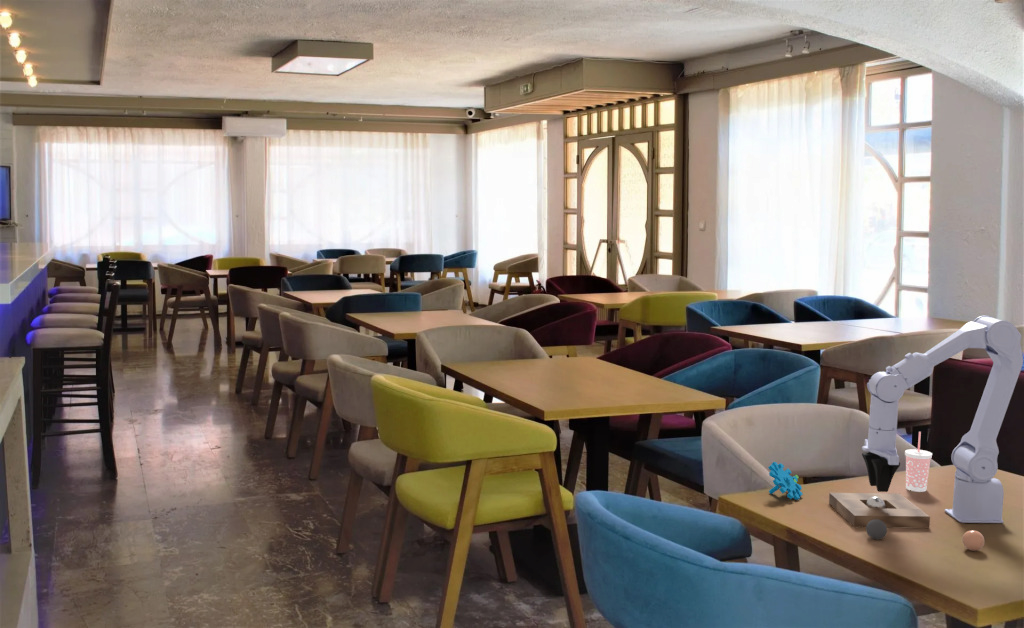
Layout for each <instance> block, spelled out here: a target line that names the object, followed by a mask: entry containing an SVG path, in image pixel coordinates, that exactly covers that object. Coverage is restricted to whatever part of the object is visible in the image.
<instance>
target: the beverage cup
mask: <svg viewBox="0 0 1024 628" xmlns="http://www.w3.org/2000/svg"><path fill="white" fill-rule="evenodd" d="M921 434H922V431H918V440H917V441H918V442H917V449H916V448H914V449H913V448H911V449H906V450H904V456H905V489H906V490H908V491H910V490H911V491H910V492H918V493H921V492H922V493H924V492H926V491H927V487H928V483H929V482H928V478H929V472H930V465H931V460H932V456H933V452H931V451H928V450H923V449H921V436H922V435H921Z"/></svg>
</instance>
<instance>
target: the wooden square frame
mask: <svg viewBox="0 0 1024 628" xmlns="http://www.w3.org/2000/svg"><path fill="white" fill-rule="evenodd" d="M874 496H876V497H880V498H881V499H882V500H883V501H884V502H885V509H882V508H868V507H867V506H866V502H867V500H868V499H869V498H871V497H874ZM828 504H829V505H830V504H831V505H832V506H833V507H834V508H835V509H836V510H837V511H836V510H835V509H834V508H833V507H832V506H831V505H830V506H831V507H832V508H833V509H834V510H835V511H836V512H837V513H838V514H840V516H842V517H843V518H844V519H845V520H846V521H847V522H848V523H849V524H850V525H851V526H852V525H853V526H854V528H866V526H867V524H868V523H869V522H870V521H871V520H874V519H878V520H881V521H883V522H884V523H885V525H886V527H887V528H893V527H912V528H913V529H915V528H917V529H919V528H920V529H925V528H926V529H930V522H931V516H930V515H929V514H927V513H926V512H925V511H923V510H922V509H921V508H920V507H918V506H917V505H915V504H914V503H913V502H911V501H910V500H909V499H908V498H906V497H905V496H903V494H901V493H894V492H893V493H890V492H889V493H887V492H885V493H884V492H878V493H877V492H874V493H873V492H871V493H870V492H829V495H828ZM853 526H852V527H853ZM912 528H911V529H912Z"/></svg>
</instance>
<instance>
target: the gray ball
mask: <svg viewBox="0 0 1024 628" xmlns="http://www.w3.org/2000/svg"><path fill="white" fill-rule="evenodd" d="M865 529H866V531H865V532H866V534H867V535H868V537H870V538H871V539H873V540H882V539H883V538H884V537H885V536H886V535H887V534H888V533H887V532H888V527H886V525H885V523H884V522H883V521H881V520H878V519H874V520H871V521H870V522H869V523H868V524H867V526H866V527H865Z"/></svg>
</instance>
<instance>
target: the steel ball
mask: <svg viewBox="0 0 1024 628" xmlns="http://www.w3.org/2000/svg"><path fill="white" fill-rule="evenodd" d="M866 506H867V507H868V508H882V509H885V502H884V501H883V500H882V499H881V498H880V497H876V496H874V497H871V498H869V499H868V500H867V502H866Z"/></svg>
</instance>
